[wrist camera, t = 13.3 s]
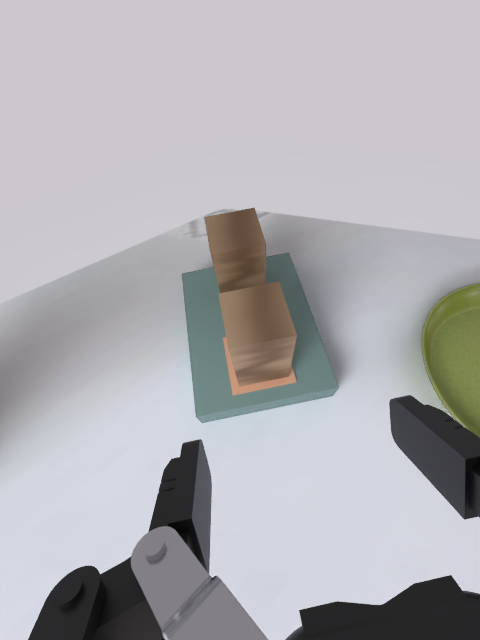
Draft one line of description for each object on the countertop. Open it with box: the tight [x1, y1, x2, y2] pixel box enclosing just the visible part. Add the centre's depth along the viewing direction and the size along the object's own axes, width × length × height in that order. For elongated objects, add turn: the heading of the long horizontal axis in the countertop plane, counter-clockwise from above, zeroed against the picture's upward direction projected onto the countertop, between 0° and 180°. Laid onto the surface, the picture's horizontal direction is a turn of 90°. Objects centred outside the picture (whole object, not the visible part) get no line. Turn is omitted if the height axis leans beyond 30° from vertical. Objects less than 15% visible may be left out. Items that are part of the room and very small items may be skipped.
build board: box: [182, 253, 339, 423], centre depth 33 cm, size 14×18×3 cm
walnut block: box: [218, 281, 297, 387], centre depth 25 cm, size 5×5×9 cm
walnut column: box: [204, 208, 266, 293], centre depth 30 cm, size 5×5×9 cm
